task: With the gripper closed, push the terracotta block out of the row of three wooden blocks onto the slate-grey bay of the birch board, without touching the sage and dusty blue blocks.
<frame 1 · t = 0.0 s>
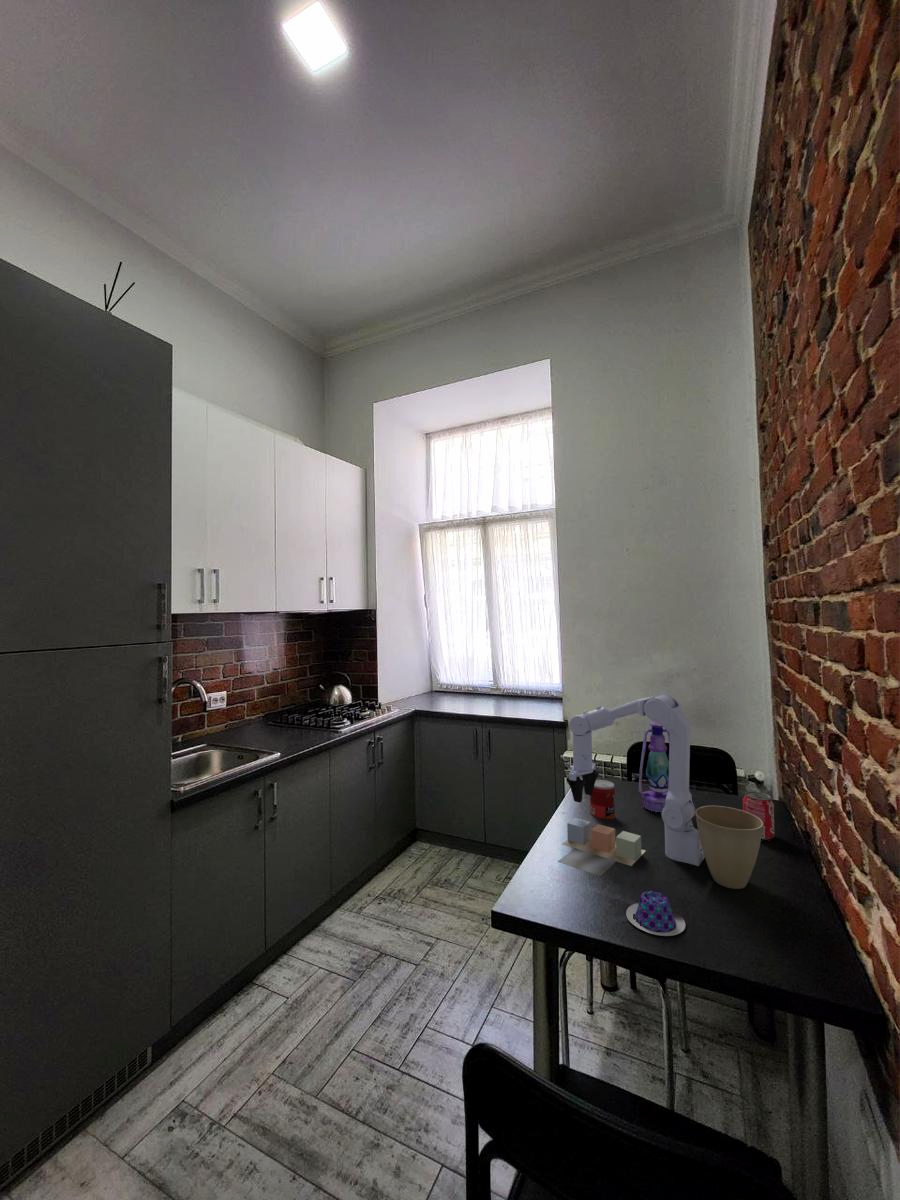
hand: (583, 798, 154), 10 cm above the table, tool pointing down, fingers open, 7 cm apart
beverage can: (759, 836, 149), on the table
terracotta block: (603, 847, 141), point 1 cm above the table, touching board
board: (596, 856, 138), on the table
sage block: (628, 855, 136), point 1 cm above the table, touching board
blue block: (579, 839, 146), point 1 cm above the table, touching board
canned food: (602, 817, 165), on the table
plant pot: (730, 882, 124), on the table
patterned fedora hat: (655, 922, 109), on the table
lantern: (659, 809, 171), on the table
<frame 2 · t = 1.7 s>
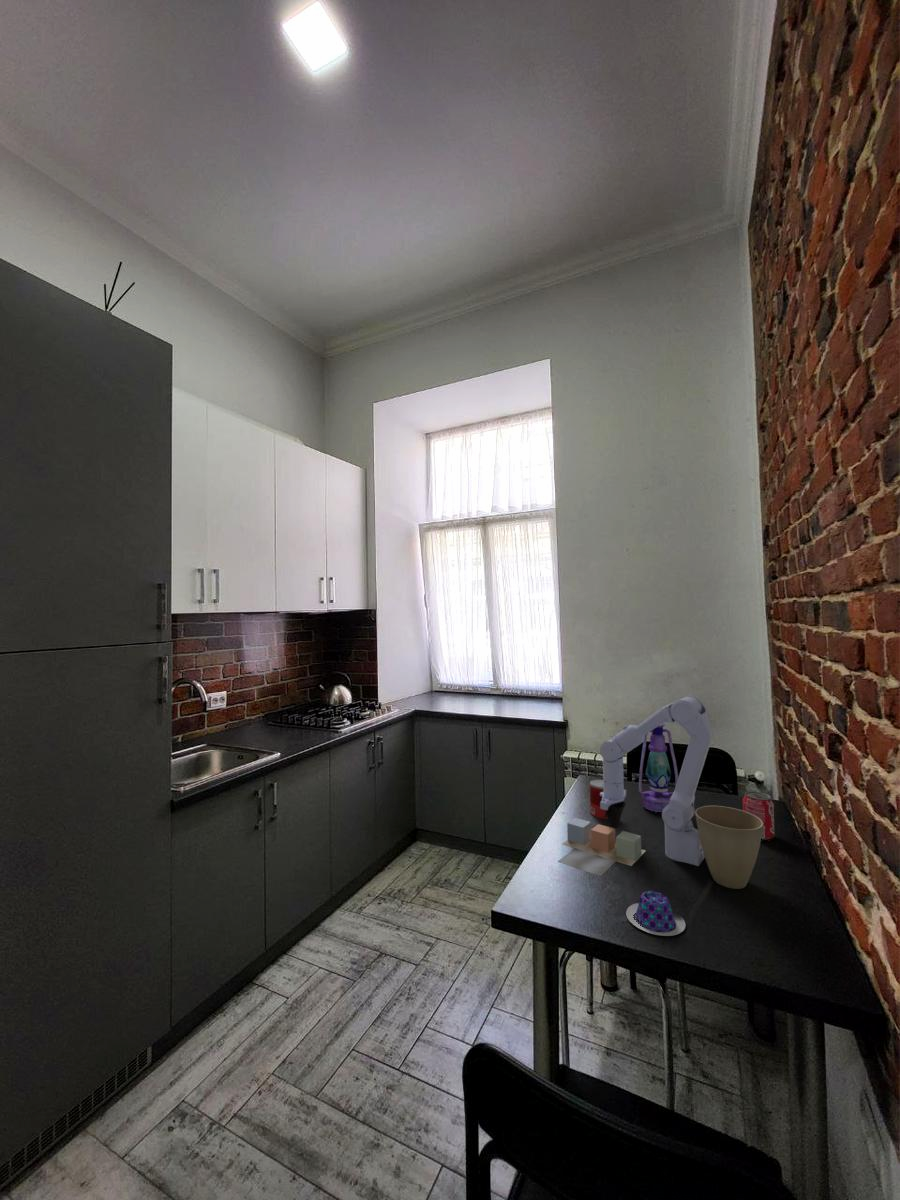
hand: (614, 827, 147), 4 cm above the table, tool pointing down, fingers closed
nothing on the table moved.
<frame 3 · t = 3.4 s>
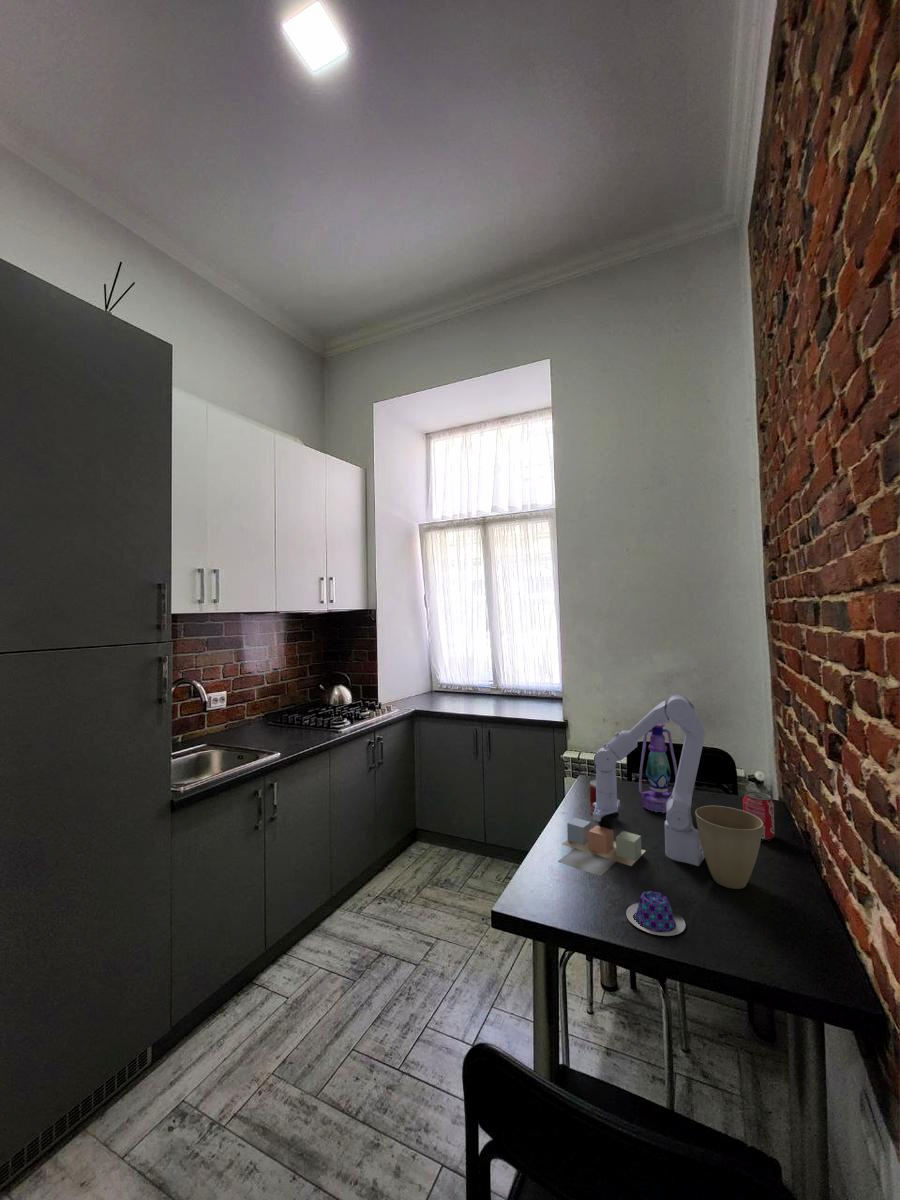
hand: (607, 838, 143), 2 cm above the table, tool pointing down, fingers closed
terracotta block: (601, 848, 140), point 1 cm above the table, touching gripper
everything else where it was.
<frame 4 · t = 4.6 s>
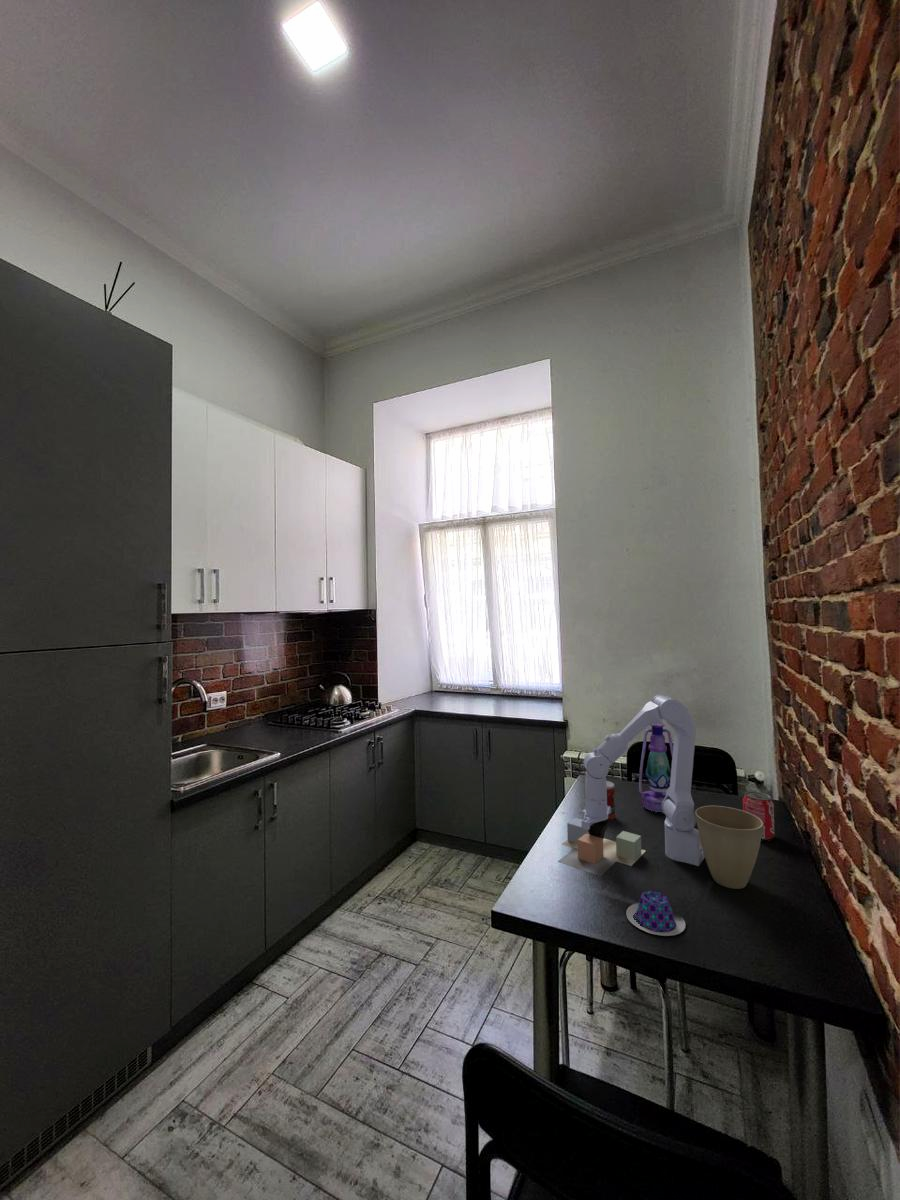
hand: (597, 847, 138), 2 cm above the table, tool pointing down, fingers closed
terracotta block: (590, 857, 135), point 1 cm above the table, touching board, gripper
everything else where it was.
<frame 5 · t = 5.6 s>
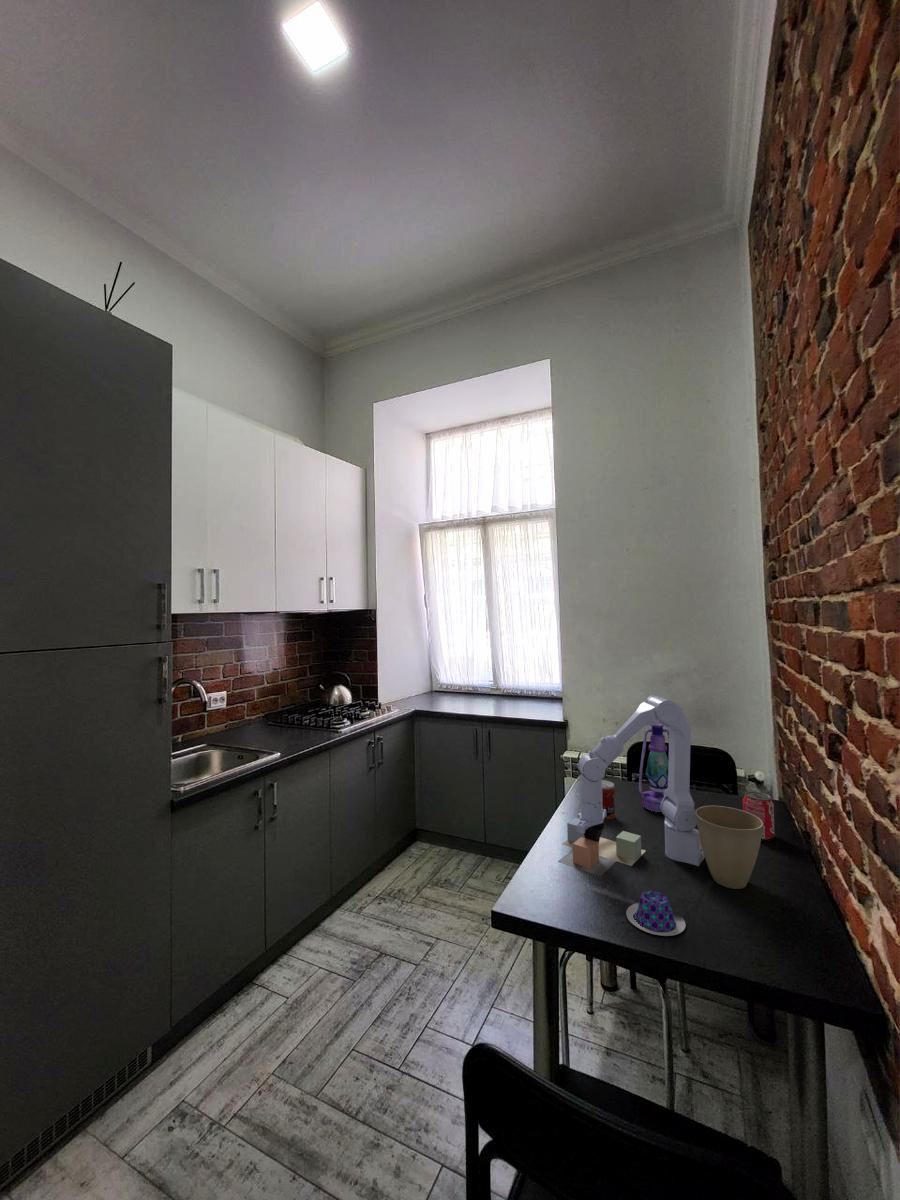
hand: (592, 851, 136), 2 cm above the table, tool pointing down, fingers closed
terracotta block: (586, 861, 133), point 1 cm above the table, touching board, gripper
everything else where it was.
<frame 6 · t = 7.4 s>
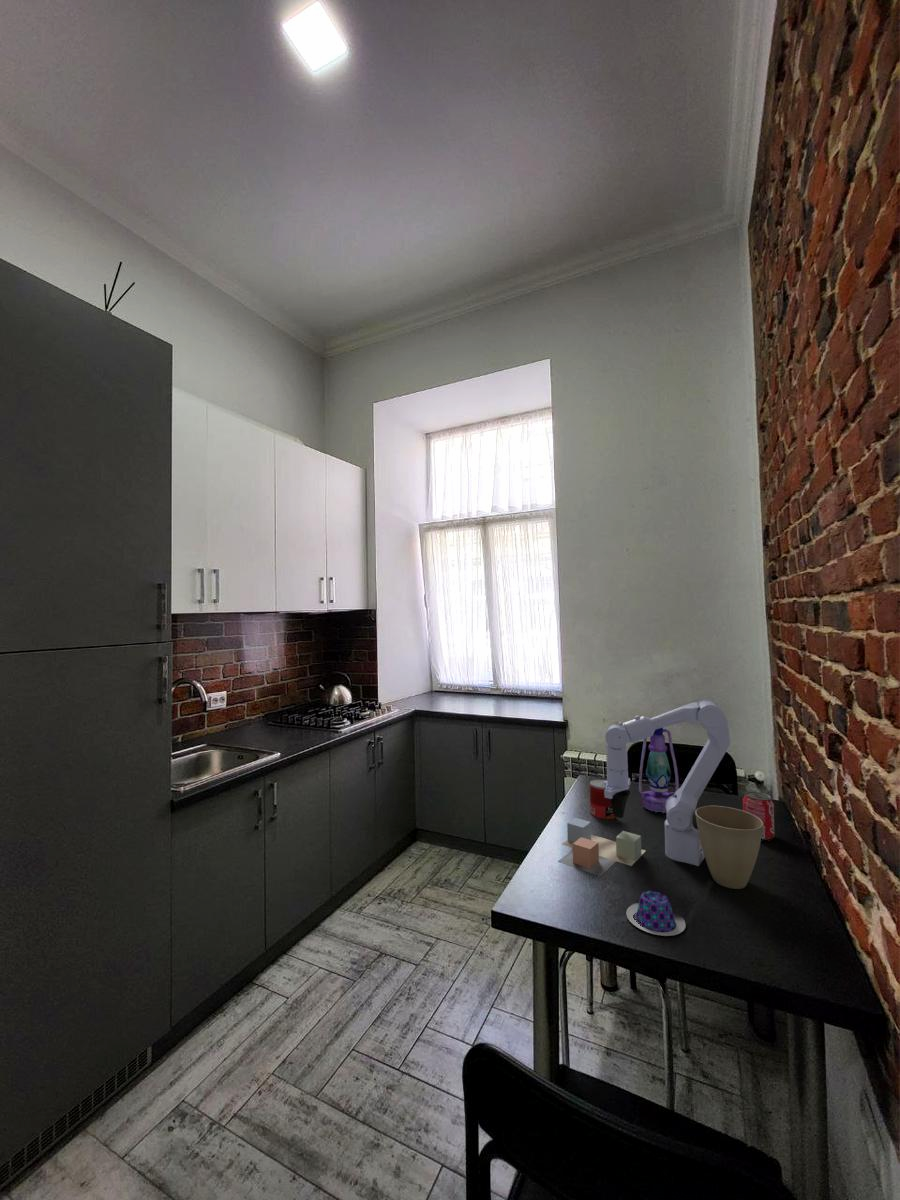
hand: (618, 816, 142), 9 cm above the table, tool pointing down, fingers closed
terracotta block: (585, 862, 133), point 1 cm above the table, touching board
everything else where it was.
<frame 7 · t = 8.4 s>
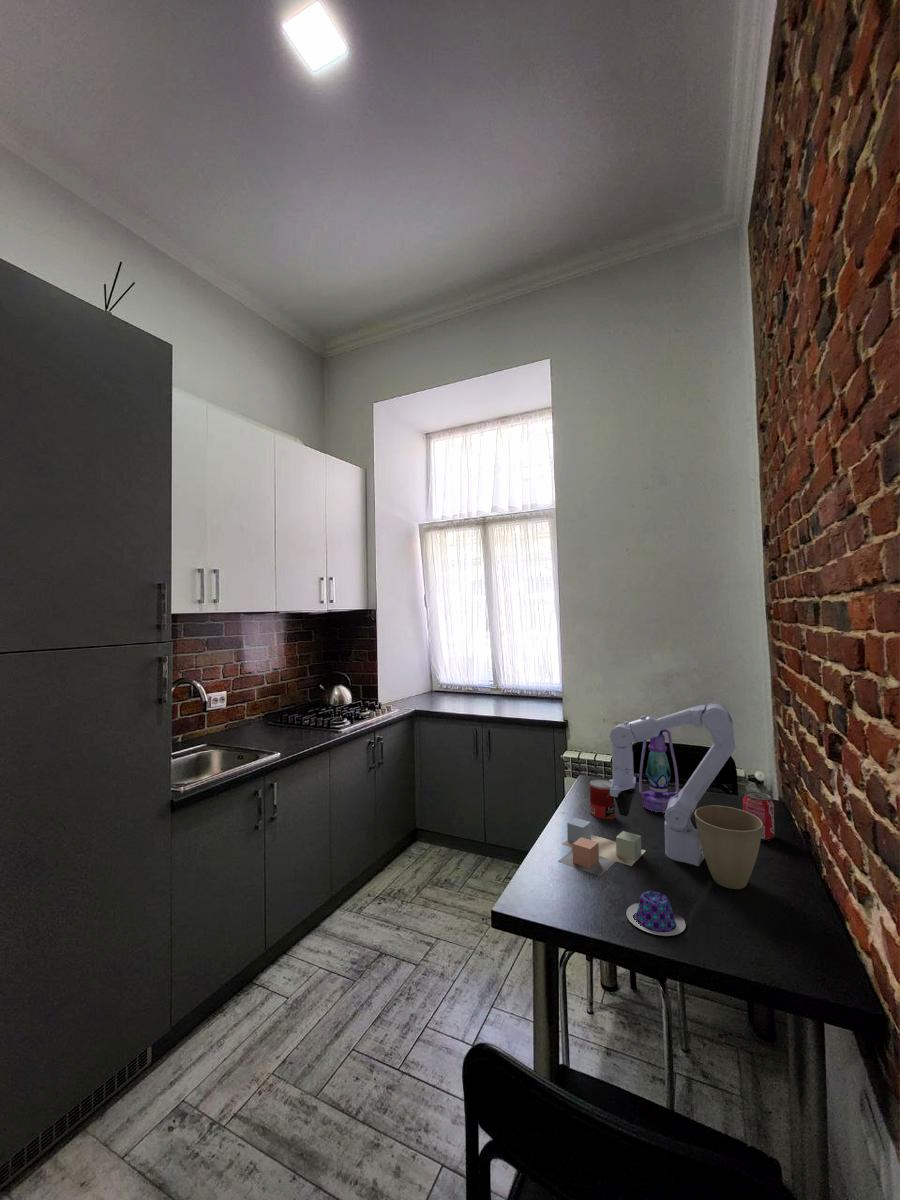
hand: (624, 814, 143), 9 cm above the table, tool pointing down, fingers closed
plant pot: (730, 882, 124), on the table, touching arm
everything else where it was.
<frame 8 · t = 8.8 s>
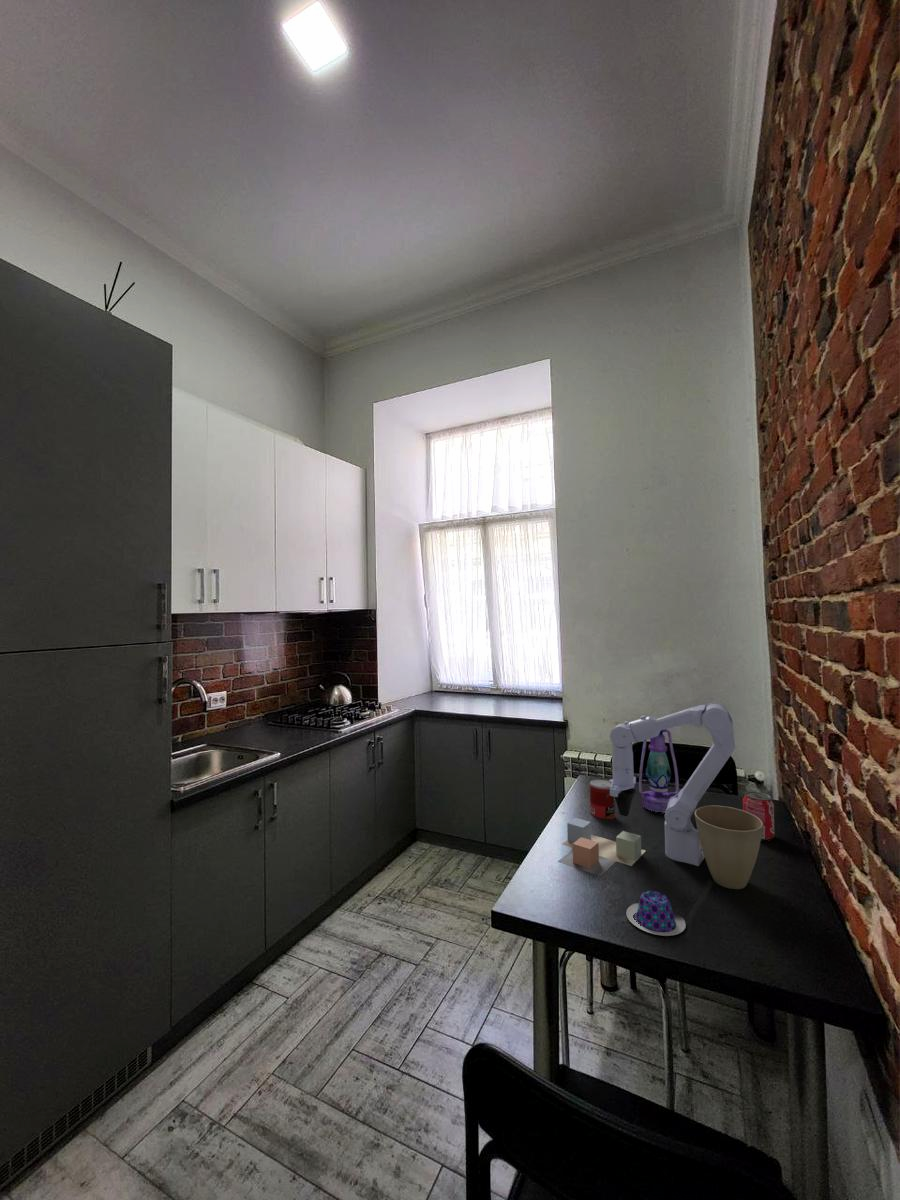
hand: (624, 814, 143), 9 cm above the table, tool pointing down, fingers closed
nothing on the table moved.
at the end: terracotta block inside the target area (0.2 cm from its centre), point 1.0 cm above the table; sage block moved 0.0 cm from its start; blue block moved 0.0 cm from its start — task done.
